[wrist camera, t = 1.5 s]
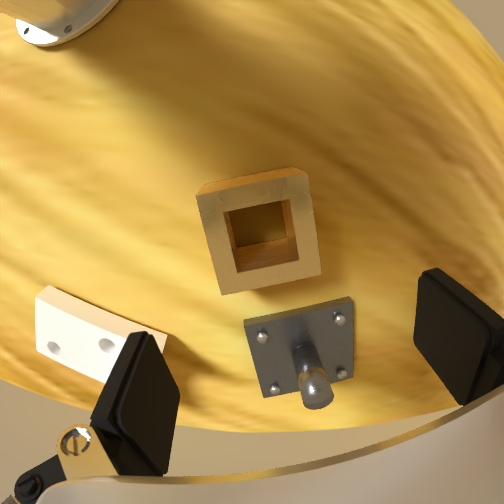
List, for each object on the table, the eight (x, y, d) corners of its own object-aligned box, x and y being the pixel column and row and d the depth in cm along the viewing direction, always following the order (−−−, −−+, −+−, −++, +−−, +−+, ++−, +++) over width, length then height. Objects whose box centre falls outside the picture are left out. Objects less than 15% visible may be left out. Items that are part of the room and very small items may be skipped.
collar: (203, 184, 23) (195, 195, 18) (292, 166, 23) (307, 172, 18) (223, 266, 25) (221, 295, 21) (305, 249, 25) (321, 274, 20)
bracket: (169, 329, 28) (153, 384, 20) (154, 376, 30) (139, 429, 23) (53, 280, 25) (12, 319, 18) (50, 332, 27) (19, 374, 20)
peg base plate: (243, 319, 27) (246, 371, 21) (348, 296, 27) (378, 340, 20) (262, 391, 31) (268, 441, 24) (350, 371, 30) (371, 416, 24)
